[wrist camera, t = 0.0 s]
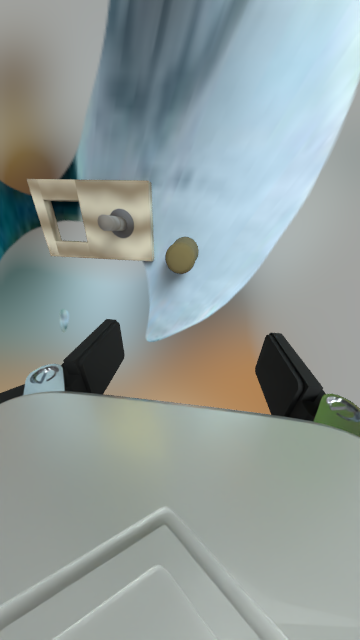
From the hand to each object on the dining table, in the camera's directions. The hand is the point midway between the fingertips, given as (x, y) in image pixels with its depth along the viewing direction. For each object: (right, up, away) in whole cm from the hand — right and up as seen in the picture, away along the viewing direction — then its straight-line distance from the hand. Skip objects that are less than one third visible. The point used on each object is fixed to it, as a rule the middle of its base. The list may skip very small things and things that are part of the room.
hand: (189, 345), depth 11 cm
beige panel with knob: (-18, +23, +26) cm, 39 cm away
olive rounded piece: (+1, +17, +27) cm, 32 cm away
